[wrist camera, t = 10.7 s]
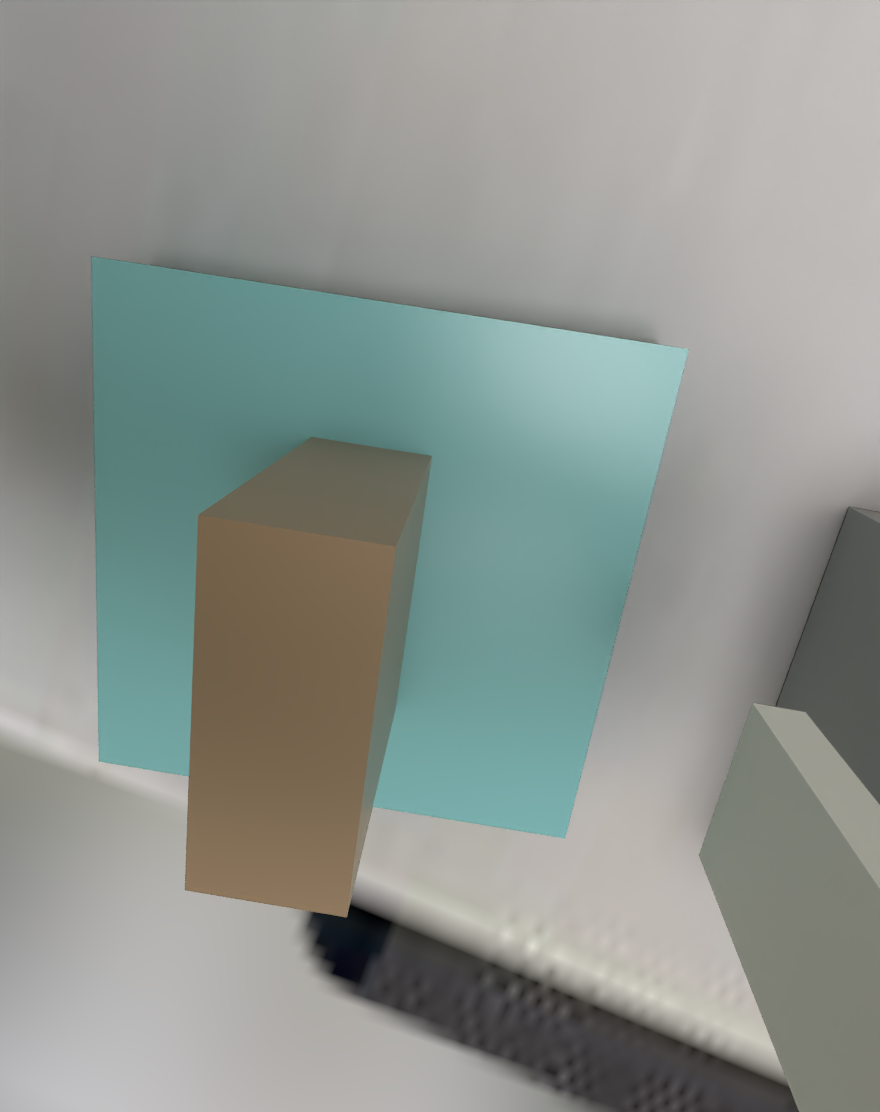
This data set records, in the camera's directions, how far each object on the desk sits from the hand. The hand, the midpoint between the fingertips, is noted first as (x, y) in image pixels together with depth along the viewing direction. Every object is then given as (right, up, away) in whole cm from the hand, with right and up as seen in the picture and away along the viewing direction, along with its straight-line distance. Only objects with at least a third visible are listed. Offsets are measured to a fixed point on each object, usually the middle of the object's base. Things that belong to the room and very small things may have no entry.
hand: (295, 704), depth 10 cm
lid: (0, +2, +7) cm, 8 cm away
